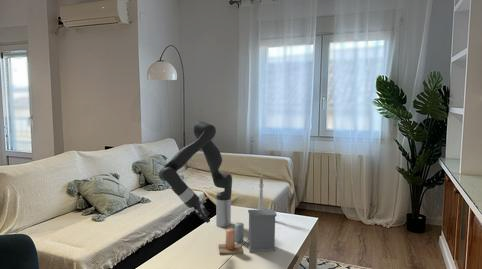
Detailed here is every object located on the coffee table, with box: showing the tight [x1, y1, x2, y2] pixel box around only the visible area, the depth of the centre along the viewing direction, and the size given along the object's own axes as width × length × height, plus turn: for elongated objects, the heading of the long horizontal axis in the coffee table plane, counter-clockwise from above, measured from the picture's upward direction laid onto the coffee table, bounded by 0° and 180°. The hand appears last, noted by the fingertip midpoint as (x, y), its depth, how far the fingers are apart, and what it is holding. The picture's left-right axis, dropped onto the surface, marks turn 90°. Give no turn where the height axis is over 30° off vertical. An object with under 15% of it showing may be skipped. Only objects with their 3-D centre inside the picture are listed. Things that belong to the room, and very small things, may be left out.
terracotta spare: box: [225, 227, 236, 250], centre depth 182 cm, size 5×5×10 cm
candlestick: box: [257, 174, 265, 210], centre depth 229 cm, size 13×13×30 cm
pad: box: [218, 243, 243, 256], centre depth 183 cm, size 10×12×1 cm
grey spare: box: [234, 222, 245, 244], centre depth 193 cm, size 5×5×10 cm
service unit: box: [247, 208, 277, 253], centre depth 184 cm, size 8×14×20 cm, turn 97°
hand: (208, 218), depth 182 cm, fingers open, 8 cm apart
